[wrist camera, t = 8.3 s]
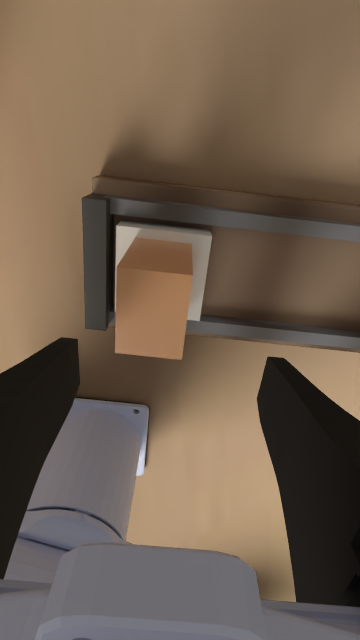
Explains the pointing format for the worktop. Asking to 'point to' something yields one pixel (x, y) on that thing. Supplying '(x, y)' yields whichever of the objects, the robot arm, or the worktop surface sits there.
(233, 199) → the rail board
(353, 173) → the worktop surface
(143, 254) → the block
